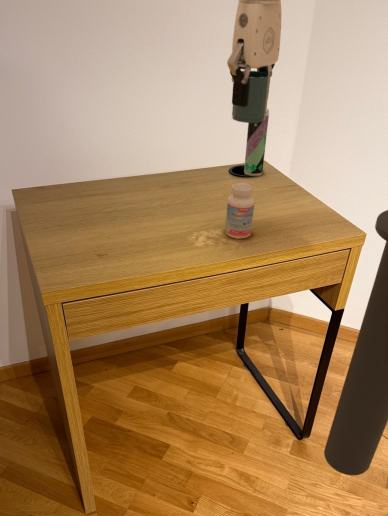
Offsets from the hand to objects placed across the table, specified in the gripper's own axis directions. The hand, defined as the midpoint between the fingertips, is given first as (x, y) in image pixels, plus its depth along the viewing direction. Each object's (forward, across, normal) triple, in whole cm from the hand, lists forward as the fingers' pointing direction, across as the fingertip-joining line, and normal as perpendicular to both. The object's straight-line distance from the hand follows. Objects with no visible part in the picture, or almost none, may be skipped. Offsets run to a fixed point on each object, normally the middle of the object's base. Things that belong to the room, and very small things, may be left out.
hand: (250, 101), depth 98 cm
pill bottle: (+29, 0, 0) cm, 29 cm away
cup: (+3, 0, 0) cm, 3 cm away
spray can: (+29, +36, +19) cm, 50 cm away
